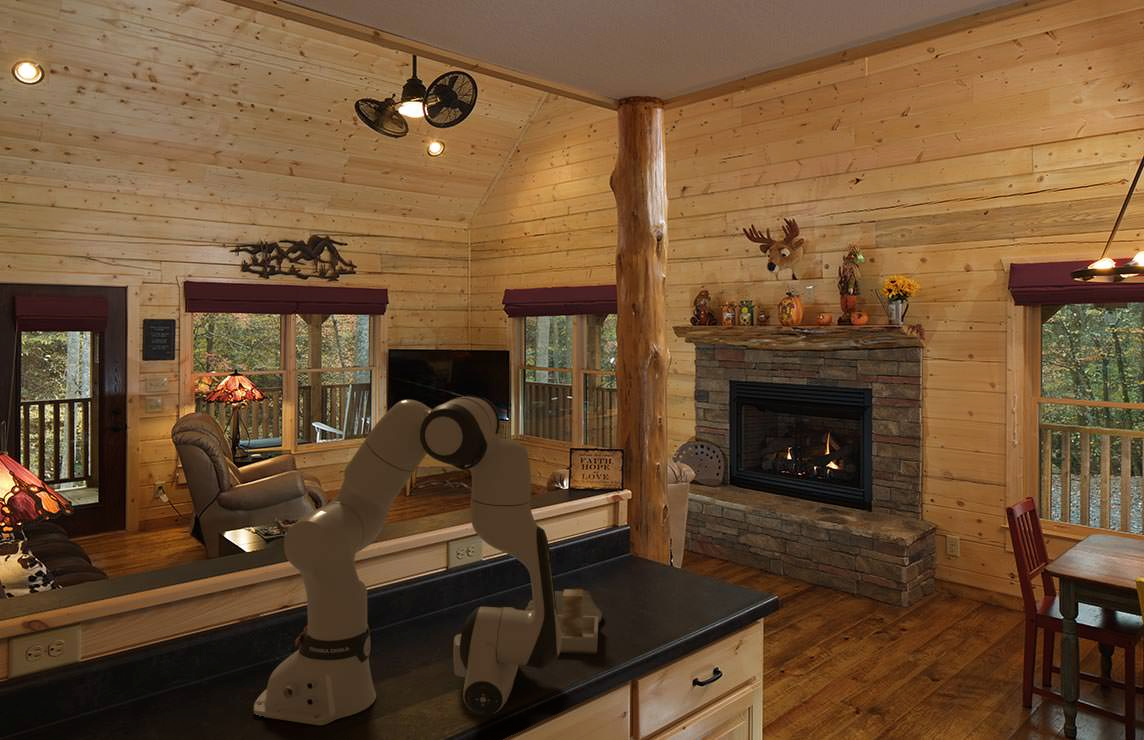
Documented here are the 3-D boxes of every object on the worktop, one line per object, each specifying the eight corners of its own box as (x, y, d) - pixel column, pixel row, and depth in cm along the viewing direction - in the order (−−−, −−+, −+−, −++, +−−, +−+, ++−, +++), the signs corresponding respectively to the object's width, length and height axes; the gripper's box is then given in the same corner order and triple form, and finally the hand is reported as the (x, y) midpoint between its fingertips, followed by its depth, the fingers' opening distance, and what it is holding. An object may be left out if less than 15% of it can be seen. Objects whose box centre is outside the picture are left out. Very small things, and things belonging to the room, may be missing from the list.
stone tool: (515, 609, 200) (559, 639, 178) (515, 596, 200) (558, 625, 178) (579, 594, 210) (628, 621, 188) (578, 582, 210) (627, 607, 188)
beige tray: (493, 650, 171) (493, 635, 171) (502, 627, 184) (502, 613, 184) (596, 653, 169) (596, 638, 169) (598, 630, 183) (598, 616, 183)
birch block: (562, 642, 174) (562, 595, 174) (563, 634, 179) (564, 589, 178) (581, 643, 174) (582, 596, 174) (582, 635, 179) (583, 589, 178)
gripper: (549, 647, 149) (554, 621, 163) (447, 644, 150) (461, 618, 164) (548, 678, 149) (554, 649, 163) (446, 675, 150) (461, 646, 164)
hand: (506, 633), depth 163 cm, fingers closed on sage jar, 5 cm apart
